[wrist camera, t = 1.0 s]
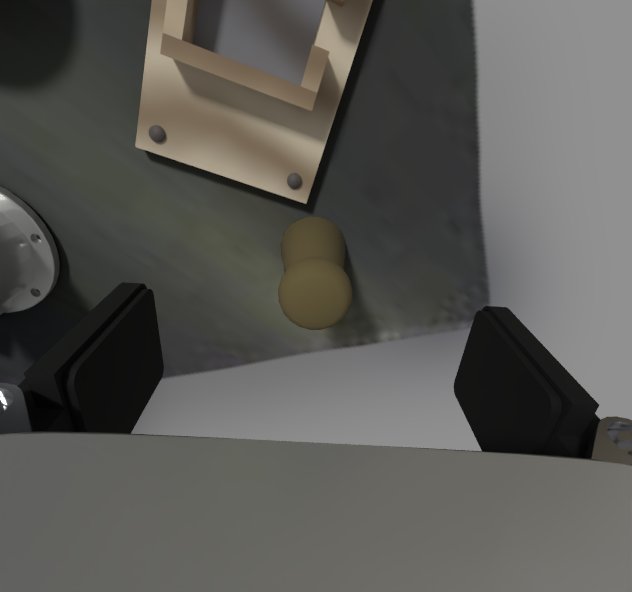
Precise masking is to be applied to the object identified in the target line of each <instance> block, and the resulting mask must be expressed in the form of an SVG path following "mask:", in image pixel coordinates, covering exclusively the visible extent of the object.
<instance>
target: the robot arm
mask: <svg viewBox="0 0 632 592" xmlns="http://www.w3.org/2000/svg"><path fill="white" fill-rule="evenodd" d="M59 264H60V262H59V256H58V251H57V248H56V245H55V242H54V240H53V237H52V235H51V234H50V232H49V230H48V229H47V227H46V225H45V224H44V223H43V221H42V220H41V219H40V218H39V217H38V215H37V214H36V213H35V212H34V211H33V210H32V209H31V208H30V207H29V206H28V205H27V204H26V203H25V202H23V201H22V200H21V199H20V198H18V197H17V196H15V195H14V194H12V193H11V192H9V191H8V190H6V189H4V188H2V187H0V315H1V314H2V313H10V312H17V311H22V310H25V309H28V308H30V307H33V306H34V305H36V304H37V303H39V302H40V301H42V300H43V299H44V298H45V297H46V296H47V295H49V294H50V293H51V291H52V290H53V288H54V286H55V285H56V283H57V279H58V276H59ZM163 369H164V365H163V358H162V351H161V344H160V337H159V330H158V322H157V315H156V308H155V301H154V295H153V291H152V290H151V289H147V287H146V285H145V284H138V283H123V282H122V283H121V284H119V285H118V286H117V287H116V288H115V289H114V290H113V291H112V292H111V293H110V294H109V295H108V296H107V297H105V298H104V299H103V300H102V301H101V302H100V303H99V304H98V305H97V306H96V307H95V308H94V309H92V310H91V311H90V312H89V313H88V314H87V315H86V316H85V317H84V318H83V319H82V320H81V321H80V322H78V323H77V324H76V325H75V326H74V327H73V328H72V329H71V330H70V331H69V332H68V333H67V334H65V335H64V336H63V337H62V338H61V339H60V340H59V341H58V342H57V343H56V344H55V345H54V346H53V347H51V348H50V349H49V350H48V351H47V352H46V353H45V354H44V355H43V356H42V357H41V358H40V359H38V360H37V361H36V362H35V363H34V364H33V365H32V366H31V367H30V368H29V369H28V370H27V371H26V372H24V375H25V379H24V380H23V381H22V382H21V383H20V384H19V385H18V386H15V385H13V384H7V383H0V592H632V420H630V419H626V418H620V417H606V418H603V419H601V420H600V419H599V418H598V417H597V416H596V414H595V412H596V410H597V408H598V406H599V404H598V403H597V402H596V401H595V400H594V399H593V398H592V397H591V396H590V395H589V394H588V393H587V392H586V391H585V389H584V388H583V387H582V386H581V385H580V384H579V383H578V382H577V381H576V380H575V379H574V378H573V377H572V376H571V375H570V374H569V373H568V372H567V370H566V369H565V368H564V367H563V366H562V365H561V364H560V363H559V362H558V361H557V360H556V359H555V358H554V357H553V356H552V354H550V352H549V351H548V350H547V349H546V348H545V347H544V346H543V345H542V344H541V343H540V342H539V341H538V340H537V339H536V337H535V336H534V335H533V334H532V333H531V332H530V331H529V330H528V329H527V328H526V327H525V326H524V325H523V324H522V323H521V322H520V320H519V319H518V318H517V317H516V316H515V315H514V314H513V313H512V312H511V311H510V310H509V309H508V308H506V307H492V306H485V307H484V308H483V309H482V311H480V310H479V311H477V313H476V315H475V318H474V321H473V324H472V327H471V330H470V334H469V337H468V340H467V343H466V346H465V350H464V353H463V356H462V359H461V362H460V366H459V369H458V372H457V376H456V378H455V382H454V393H455V396H456V398H457V400H458V401H459V404H460V406H461V408H462V410H463V412H464V414H465V416H466V418H467V421H468V422H469V425H470V427H471V429H472V431H473V433H474V435H475V437H476V439H477V441H478V443H479V445H480V447H481V449H482V451H465V450H447V449H429V448H409V447H389V446H368V445H349V444H329V443H310V442H290V441H270V440H251V439H230V438H210V437H188V436H164V435H144V434H130V433H131V432H132V430H133V428H134V426H135V425H136V423H137V421H138V419H139V417H140V416H141V414H142V412H143V410H144V408H145V407H146V405H147V403H148V401H149V399H150V398H151V396H152V394H153V392H154V390H155V389H156V387H157V385H158V383H159V382H160V380H161V378H162V375H163Z"/></svg>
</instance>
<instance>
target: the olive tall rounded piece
mask: <svg viewBox="0 0 632 592" xmlns="http://www.w3.org/2000/svg"><path fill="white" fill-rule="evenodd" d="M345 249H346V243H345V240H344V236H343V234H342V232H341V231H340V230H339V228H338V227H337V226H336V225H335V224H333V223H332V222H330V221H329V220H327V219H323V218H320V217H306V218H303V219H300V220H298V221H296V222H295V223H293V224H292V225H291V226H289V228H288V229H287V231H286V232H285V233H284V235H283V238H282V242H281V255H282V261H283V266H284V271H285V274H284V275H283V276H282V279H281V282H280V285H279V289H278V296H279V303H280V306H281V308H282V310H283V313H284V314H285V315H286V317H287V318H288V319H289V320H290V321H291V322H293V323H294V324H296V325H298V326H299V327H302V328H306V329H310V330H321V329H325V328H328V327H331V326H333V325H334V324H336V323H338V322H339V321H341V319H342V318H343V317H344V316H345V315H346V314H347V312H348V309H349V307H350V305H351V302H352V287H351V284H350V280H349V277H348V275H347V274H346V273H345V271H344V262H345Z"/></svg>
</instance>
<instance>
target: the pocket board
mask: <svg viewBox="0 0 632 592" xmlns="http://www.w3.org/2000/svg"><path fill="white" fill-rule="evenodd" d="M372 1H373V0H152V5H151V13H150V22H149V31H148V40H147V49H146V57H145V66H144V75H143V84H142V92H141V101H140V110H139V119H138V128H137V136H136V145H135V147H137V148H140V149H143V150H146V151H149V152H152V153H155V154H158V155H161V156H164V157H167V158H170V159H173V160H176V161H179V162H182V163H185V164H188V165H191V166H194V167H197V168H200V169H203V170H206V171H209V172H212V173H215V174H218V175H221V176H224V177H227V178H230V179H233V180H236V181H239V182H242V183H245V184H248V185H251V186H254V187H257V188H260V189H263V190H266V191H269V192H272V193H275V194H278V195H281V196H284V197H287V198H290V199H293V200H296V201H299V202H302V203H305V204H306V203H307V200H308V197H309V194H310V191H311V188H312V185H313V181H314V178H315V175H316V172H317V169H318V166H319V163H320V160H321V157H322V154H323V151H324V148H325V145H326V142H327V139H328V136H329V132H330V129H331V126H332V123H333V120H334V117H335V114H336V111H337V108H338V105H339V102H340V99H341V96H342V93H343V90H344V87H345V84H346V80H347V77H348V74H349V71H350V68H351V65H352V62H353V59H354V56H355V53H356V50H357V47H358V44H359V41H360V38H361V35H362V31H363V28H364V25H365V22H366V19H367V16H368V13H369V10H370V7H371V4H372Z"/></svg>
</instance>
